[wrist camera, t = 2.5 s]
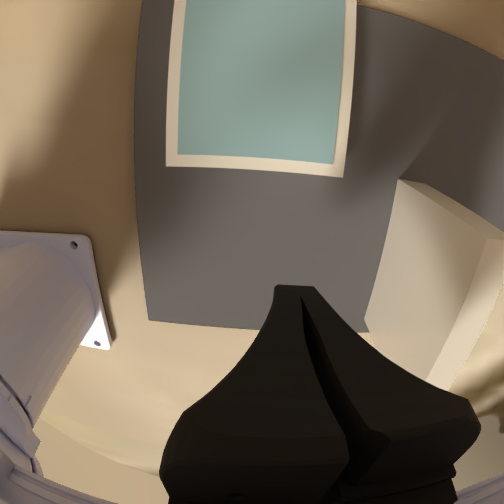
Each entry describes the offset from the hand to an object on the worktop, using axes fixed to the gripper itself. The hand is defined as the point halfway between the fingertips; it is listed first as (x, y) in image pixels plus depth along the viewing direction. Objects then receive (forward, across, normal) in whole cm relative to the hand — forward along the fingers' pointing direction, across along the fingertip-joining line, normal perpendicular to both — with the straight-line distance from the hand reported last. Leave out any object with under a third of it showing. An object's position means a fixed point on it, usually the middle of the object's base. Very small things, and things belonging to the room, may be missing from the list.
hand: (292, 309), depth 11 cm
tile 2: (+5, -6, 0) cm, 8 cm away
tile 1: (+5, +2, -8) cm, 10 cm away
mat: (+5, -4, -4) cm, 8 cm away
